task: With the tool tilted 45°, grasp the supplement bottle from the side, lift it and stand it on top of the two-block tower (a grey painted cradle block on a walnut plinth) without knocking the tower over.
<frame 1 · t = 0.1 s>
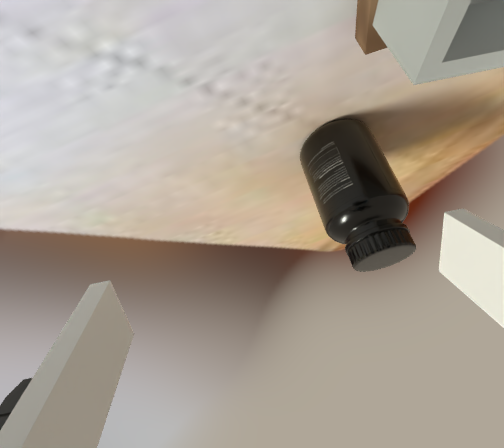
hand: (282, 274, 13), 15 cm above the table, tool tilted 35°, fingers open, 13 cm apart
supplement bottle: (333, 142, 30), on the table
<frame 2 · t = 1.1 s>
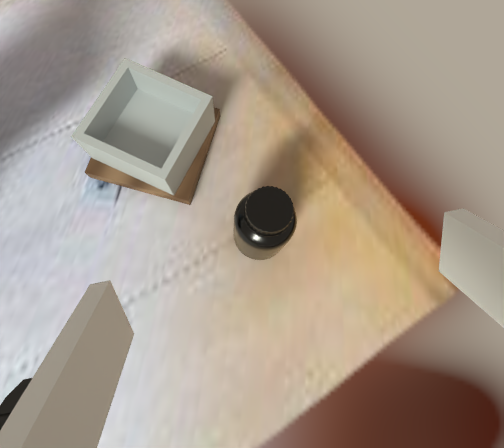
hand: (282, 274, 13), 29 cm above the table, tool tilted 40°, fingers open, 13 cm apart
supplement bottle: (259, 235, 42), on the table
walnut plinth: (158, 148, 45), on the table, touching grey painted block
grey painted block: (155, 139, 43), point 2 cm above the table, touching walnut plinth
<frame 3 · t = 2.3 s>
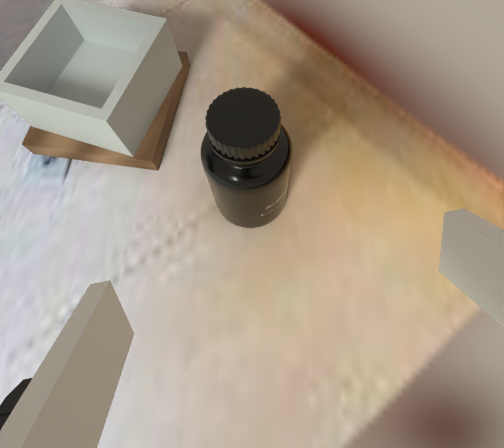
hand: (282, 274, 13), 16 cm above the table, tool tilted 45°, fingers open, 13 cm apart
supplement bottle: (251, 197, 31), on the table
walnut plinth: (118, 111, 36), on the table, touching grey painted block
grey painted block: (109, 95, 34), point 2 cm above the table, touching walnut plinth
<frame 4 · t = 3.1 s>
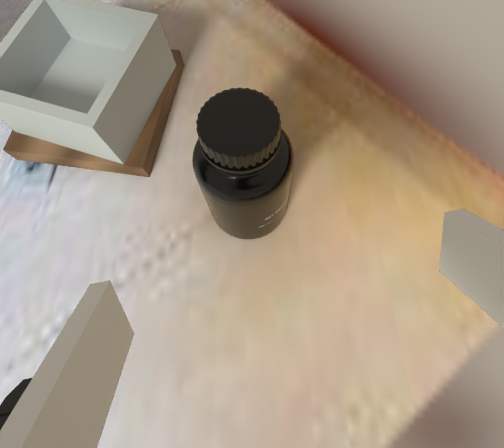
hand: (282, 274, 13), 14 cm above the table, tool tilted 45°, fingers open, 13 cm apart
supplement bottle: (249, 205, 29), on the table
walnut plinth: (107, 114, 34), on the table, touching grey painted block
grey painted block: (97, 97, 32), point 2 cm above the table, touching walnut plinth
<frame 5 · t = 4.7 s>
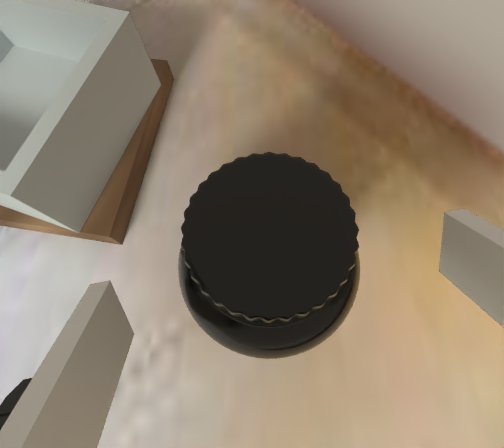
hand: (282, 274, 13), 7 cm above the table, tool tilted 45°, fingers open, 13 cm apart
supplement bottle: (268, 291, 20), on the table
walnut plinth: (68, 148, 25), on the table, touching grey painted block
grey painted block: (48, 130, 22), point 2 cm above the table, touching walnut plinth
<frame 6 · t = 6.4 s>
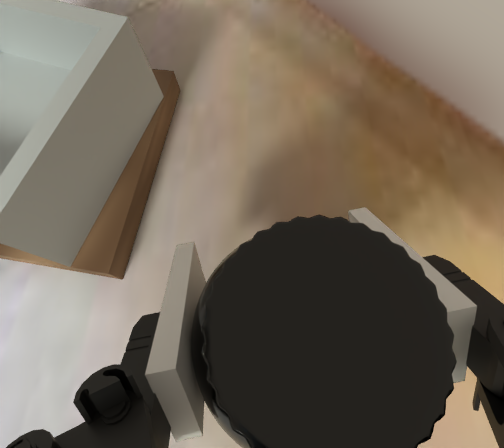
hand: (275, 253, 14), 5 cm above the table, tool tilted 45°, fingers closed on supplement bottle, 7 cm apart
supplement bottle: (288, 336, 17), on the table, touching gripper
walnut plinth: (63, 166, 22), on the table, touching grey painted block
grey painted block: (38, 147, 20), point 2 cm above the table, touching walnut plinth
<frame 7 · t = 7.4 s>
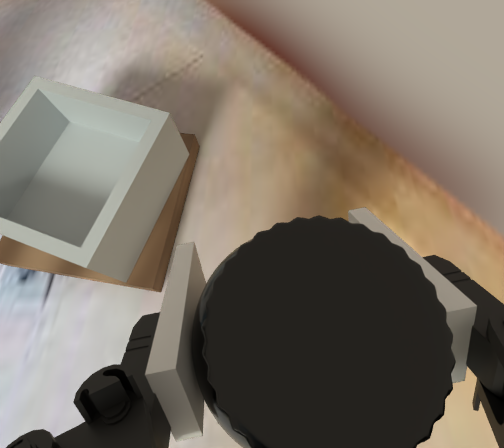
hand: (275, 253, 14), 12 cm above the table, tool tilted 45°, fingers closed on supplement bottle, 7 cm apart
supplement bottle: (288, 336, 17), point 7 cm above the table, touching gripper
walnut plinth: (112, 205, 30), on the table
grey painted block: (98, 193, 27), point 2 cm above the table
when the fingers open (9 cm above the table, at t = 12.8 s): supplement bottle drops 1 cm, resting on grey painted block.
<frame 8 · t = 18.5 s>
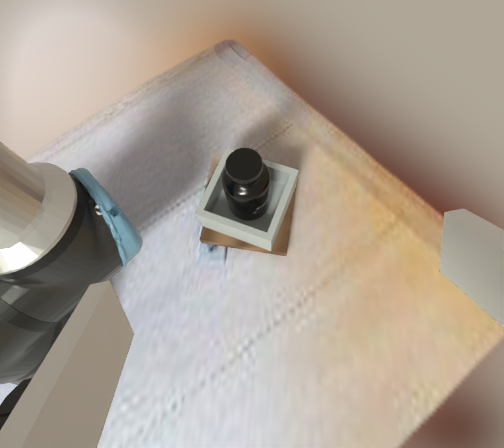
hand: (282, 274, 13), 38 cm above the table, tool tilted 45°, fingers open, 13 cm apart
supplement bottle: (249, 202, 51), point 3 cm above the table, touching grey painted block
walnut plinth: (250, 211, 55), on the table, touching grey painted block
grey painted block: (249, 205, 53), point 2 cm above the table, touching supplement bottle, walnut plinth
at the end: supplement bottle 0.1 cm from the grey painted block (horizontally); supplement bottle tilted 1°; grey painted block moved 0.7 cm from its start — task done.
